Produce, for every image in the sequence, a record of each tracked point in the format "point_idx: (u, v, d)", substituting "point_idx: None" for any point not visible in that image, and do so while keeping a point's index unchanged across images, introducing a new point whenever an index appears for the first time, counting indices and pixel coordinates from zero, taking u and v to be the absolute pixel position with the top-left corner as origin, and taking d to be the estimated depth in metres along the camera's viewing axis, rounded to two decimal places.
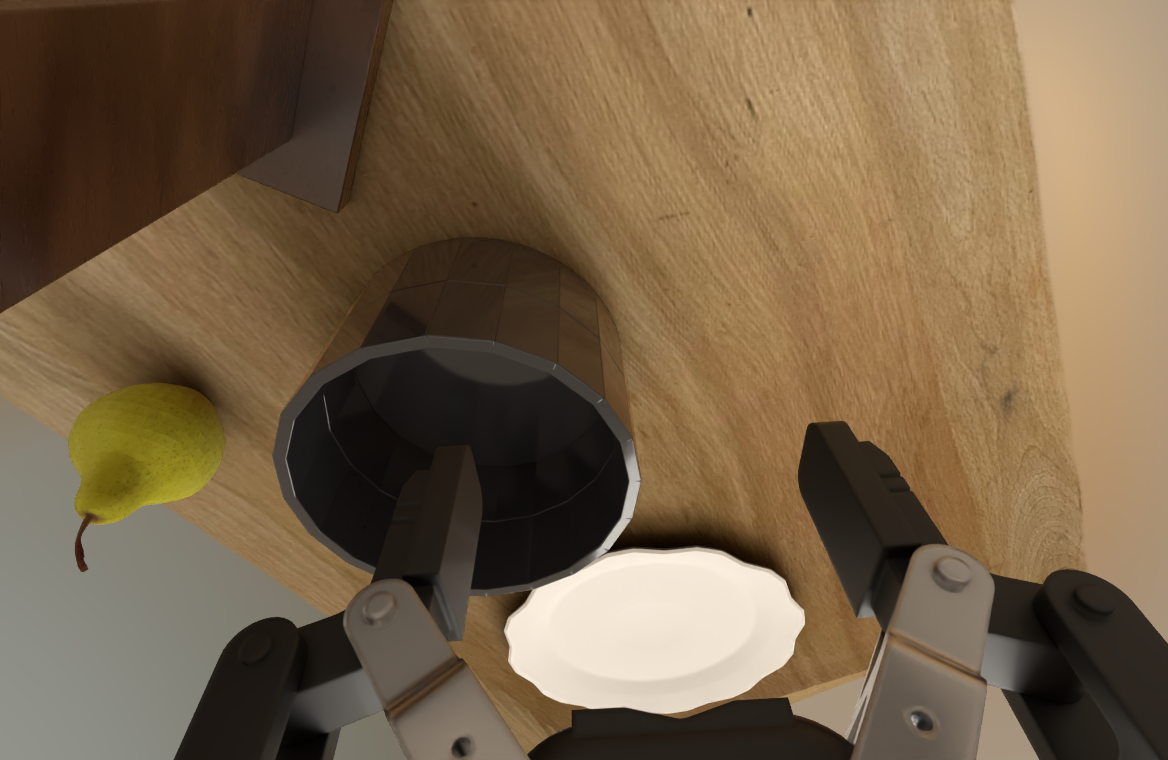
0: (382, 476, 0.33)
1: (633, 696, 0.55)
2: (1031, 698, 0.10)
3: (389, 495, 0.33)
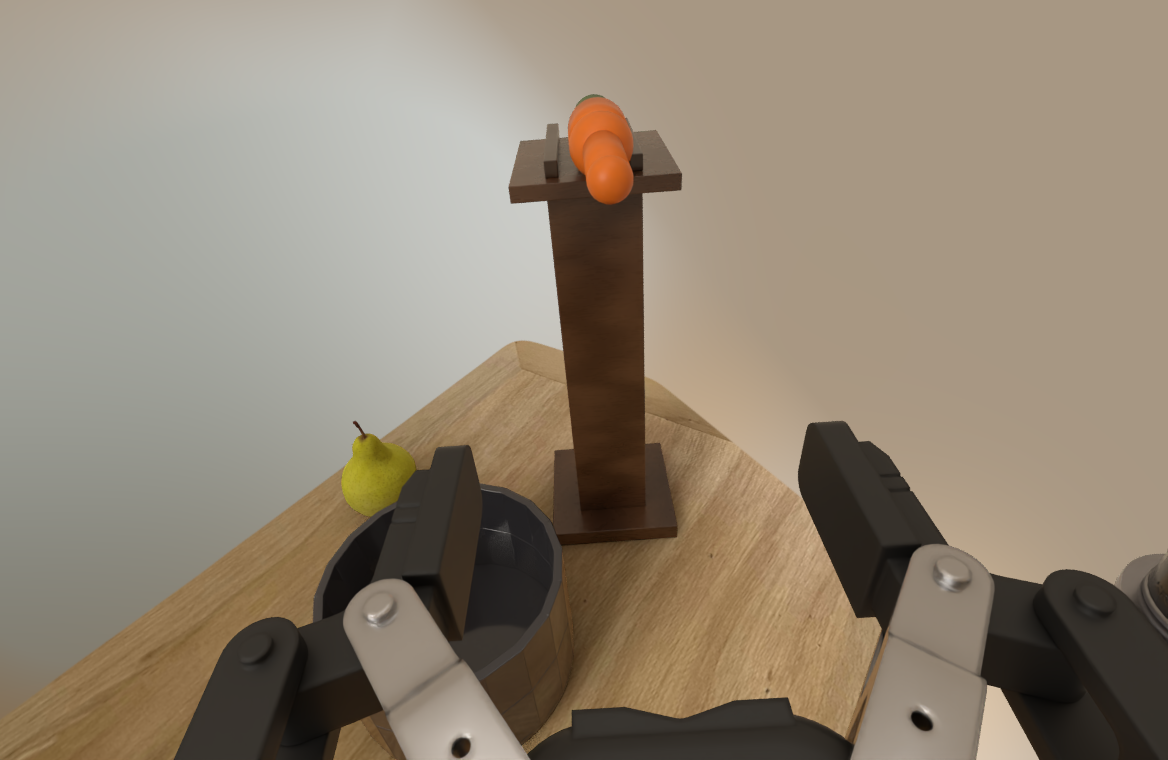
0: None
1: None
2: (1031, 698, 0.10)
3: (367, 585, 0.43)
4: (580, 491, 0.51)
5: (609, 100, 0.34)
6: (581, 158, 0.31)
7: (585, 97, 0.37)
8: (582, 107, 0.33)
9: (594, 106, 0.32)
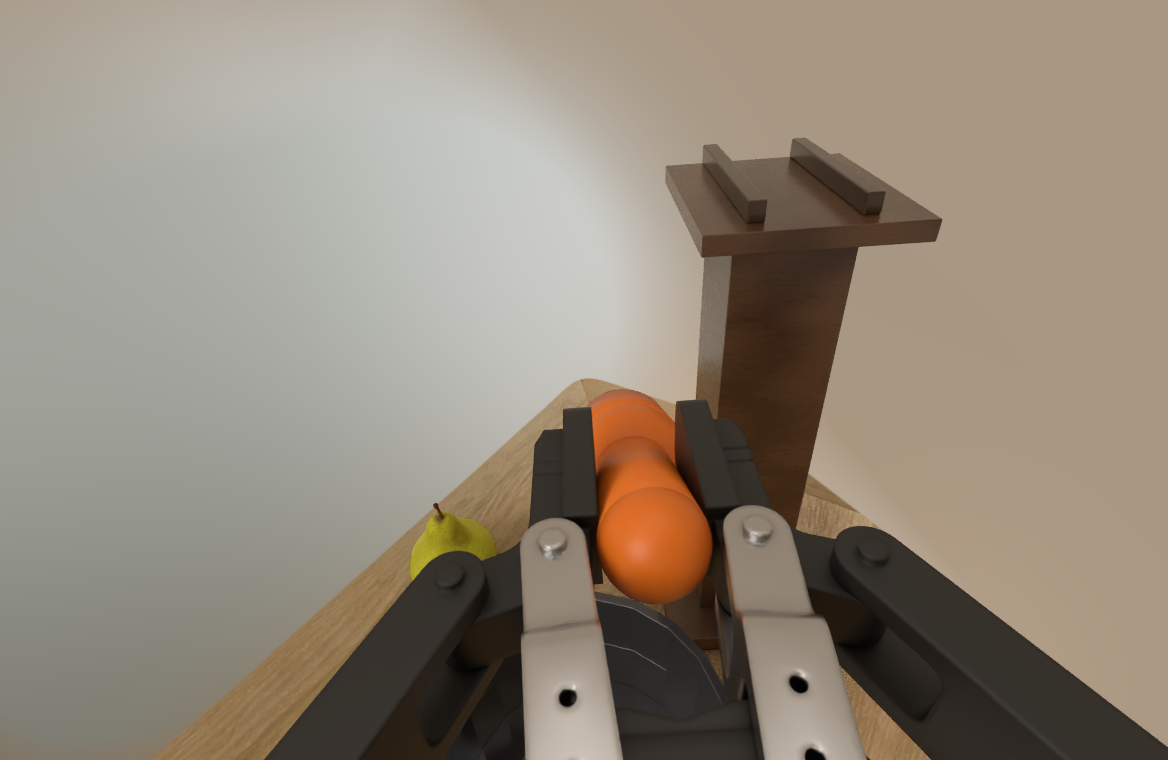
0: (473, 719, 0.35)
1: None
2: (854, 653, 0.10)
3: None
4: (704, 586, 0.42)
5: (631, 390, 0.21)
6: None
7: None
8: None
9: (605, 403, 0.19)
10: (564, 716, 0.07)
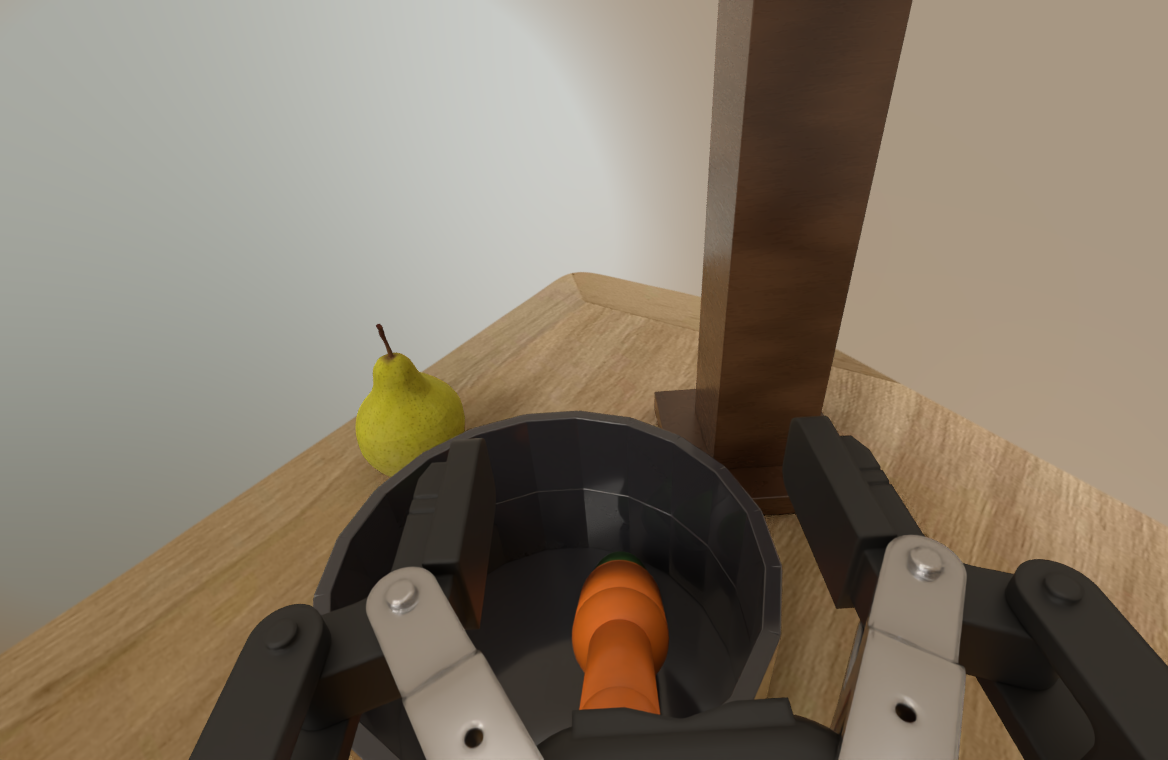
0: None
1: None
2: (1007, 687, 0.10)
3: None
4: (718, 438, 0.34)
5: (604, 564, 0.25)
6: None
7: None
8: None
9: (582, 597, 0.23)
10: (477, 757, 0.07)
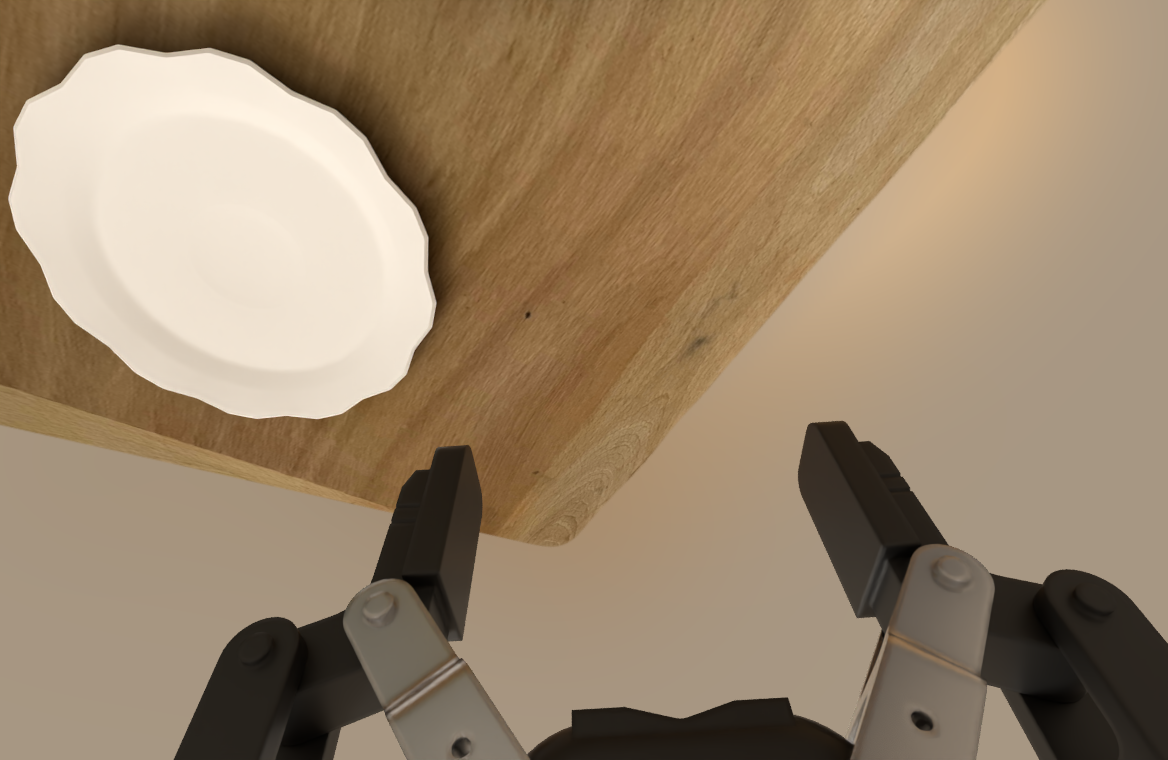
0: None
1: (118, 318, 0.40)
2: (1031, 698, 0.10)
3: None
4: None
5: None
6: None
7: None
8: None
9: None
10: None
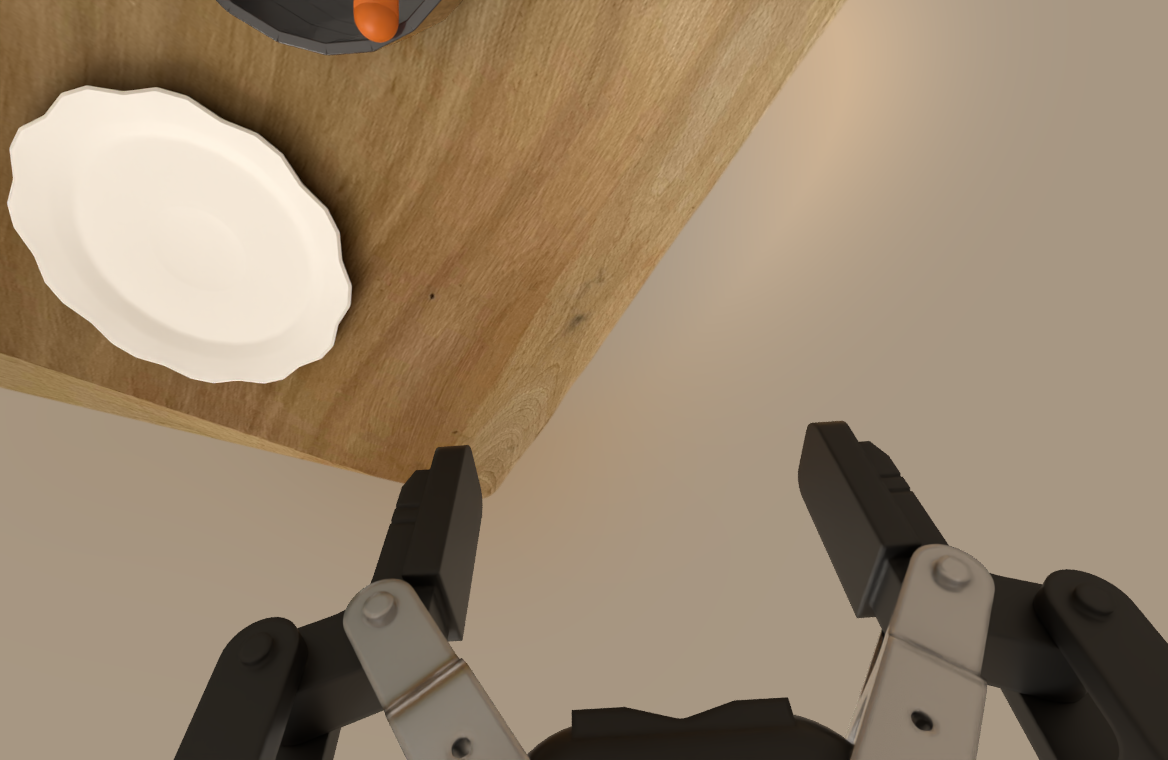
0: None
1: (97, 299, 0.49)
2: (1031, 698, 0.10)
3: None
4: None
5: None
6: None
7: None
8: None
9: None
10: None
